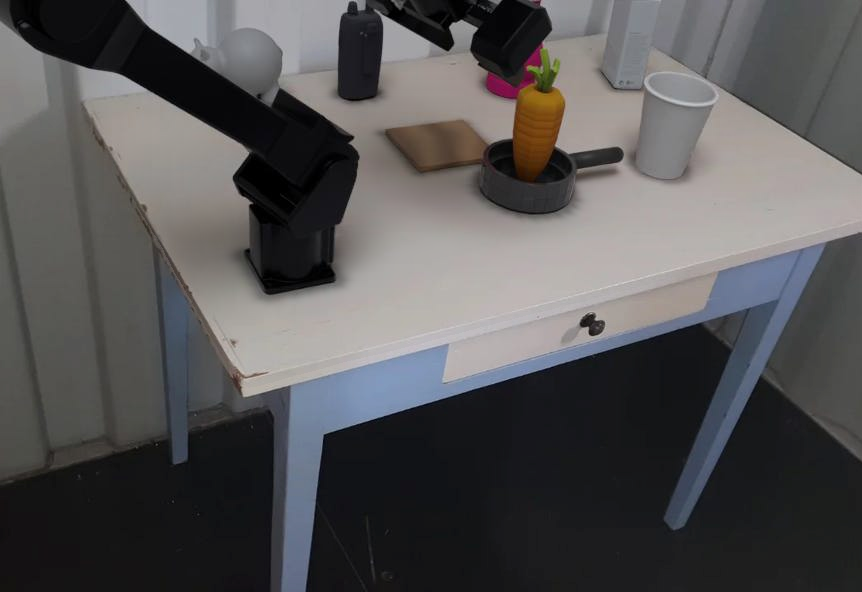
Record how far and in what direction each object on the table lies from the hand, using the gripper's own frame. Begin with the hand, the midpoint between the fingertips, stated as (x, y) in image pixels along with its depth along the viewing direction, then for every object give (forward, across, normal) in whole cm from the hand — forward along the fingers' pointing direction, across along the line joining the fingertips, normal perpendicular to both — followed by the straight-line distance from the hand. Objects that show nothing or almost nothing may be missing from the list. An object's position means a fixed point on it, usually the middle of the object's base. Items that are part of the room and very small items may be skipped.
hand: (483, 65), depth 87 cm
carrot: (+16, -2, +4) cm, 16 cm away
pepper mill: (+27, +16, -9) cm, 33 cm away
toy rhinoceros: (+6, +30, +16) cm, 35 cm away
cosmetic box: (+37, +11, -22) cm, 44 cm away
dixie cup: (+27, -8, -10) cm, 30 cm away
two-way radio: (+15, +24, +5) cm, 29 cm away
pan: (+16, -2, +4) cm, 16 cm away
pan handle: (+19, -5, -3) cm, 20 cm away
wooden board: (+15, +10, +5) cm, 18 cm away
